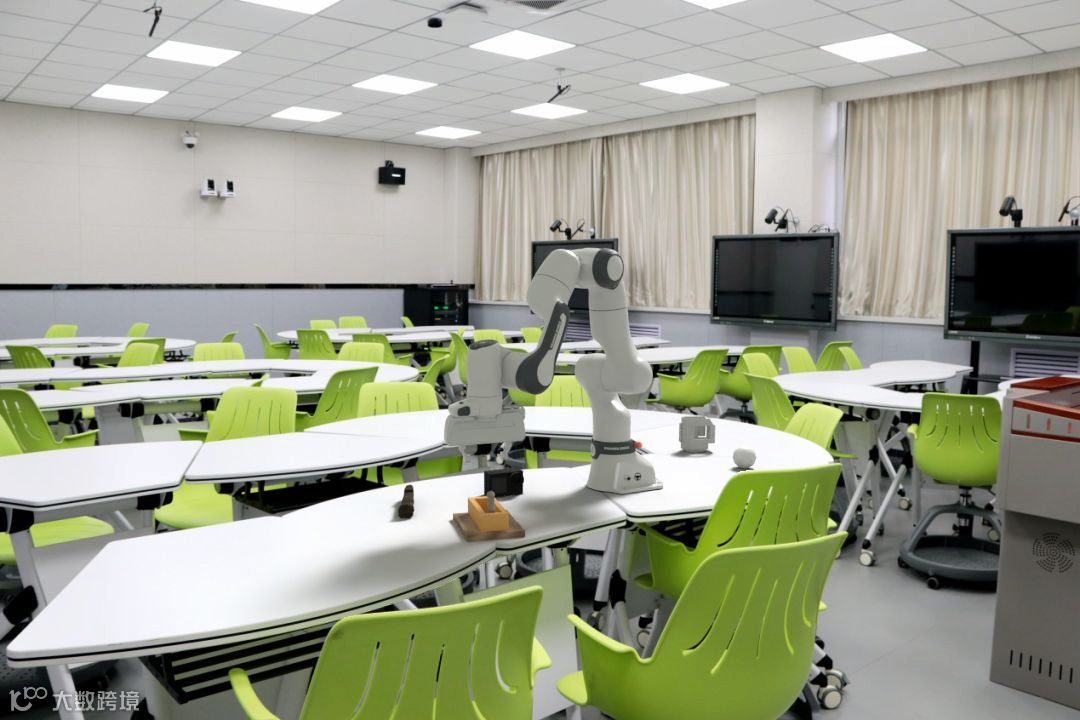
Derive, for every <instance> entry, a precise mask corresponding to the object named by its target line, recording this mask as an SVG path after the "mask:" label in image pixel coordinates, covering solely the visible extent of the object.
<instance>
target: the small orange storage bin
mask: <svg viewBox="0 0 1080 720" xmlns="http://www.w3.org/2000/svg"><path fill="white" fill-rule="evenodd" d="M496 498H497V497H496ZM496 498H495V507H494V513H487V496H486V495H484V496H473V497H467V512H468V514H469V515H470V517H471V518H472V519H473V521H474V522H475V523H476V525H477V526H478V528H479V529H480V530H481V532H489V531H500V530H509V513H510V512H509V511H508V510H507V509H506V508H505V507H504V506H503V505H502V503H500V502H499V501H498V500H497V499H496ZM506 510H507V511H508V512H509V513H508V512H507V511H506Z"/></svg>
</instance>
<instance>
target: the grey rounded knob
mask: <svg viewBox="0 0 1080 720" xmlns="http://www.w3.org/2000/svg"><path fill="white" fill-rule="evenodd" d="M732 454H733V455H732V459H733V463H734V465H736V466H737V467H739V468H741V469H749V468H752V466H754V464H755V462H756V459H757V456H756V452H755V450H754V449H753V448H752V447H751V446H747V445H740V446H738V447H736V448H735V450H734V451H733V453H732Z"/></svg>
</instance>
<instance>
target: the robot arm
mask: <svg viewBox="0 0 1080 720" xmlns="http://www.w3.org/2000/svg"><path fill="white" fill-rule="evenodd" d="M624 272H625V264H624V261H623V259H622V256H621V255H620V253H619V252H618V251H617V250H614V249H611V248H607V247H603V248H597V247H584V248H577V249H576V248H575V249H565V248H558V249H554V250H552V251H550V253H549V254H548V255H547V256H546V258H545V259H544V260H543V262H542V263H541V265H540V266H539V268H538V269H537V271H536V272H535V274H534V276H533V278H532V280H531V281H530V283H529V285H528V287H527V291H526V295H525V296H526V297H525V298H526V303H527V305H528V307H529V309H530V310H531V311H532V312H533V314H534V315H535V316H537V317H538V318H540V319H541V320H542V321H544V325H543V327H542V331H541V334H540V336H539V339H538V341H537V345H536V348H535V349H534V350H533V351H530V352H520V351H516V350H510V349H509V348H506V347H504V346H502V345H501V344H500V343H499V341H498V340H496V339H483V340H477V341H474V342H472V343H471V344H469V346H468V348H467V353H466V357H465V358H466V360H465V377H466V382H467V391H466V398H463V399H461V400H458V401H456V402H453V403H451V404H448V408H447V410H448V413H449V414H448V416H447V417H446V419H445V422H444V429H443V441H444V443H445V445H447V446H448V447H456V446H457V447H458V449H459V451H460V453H461V454H462V457H463V459H462V460H463V463H464V464H466V463H471V455H470V454H469V453H466V452H465V450H466V449H467V448H466V447H467V446H470V445H471V446H474V445H484V444H497V443H503V444H504V445H505V446H504V449H503V451H500V452H499V454H500V455H499V456H500V460H502V461H503V460H504V461H505V460H508V453H509V452H510V450H511V448H512V446H513V443H515V442H523V441H524V440H525V438H526V427H525V422H524V421H525V419H526V409H525V407H524V406H522V405H520V404H518V403H514V404H503V390H502V389H508V390H513V391H519V392H523V393H526V394H531V395H535V396H537V395H540V394H543V393H544V392H546V391H547V390H548V389H549V387H550V386H551V385H552V383H553V380H554V376H555V370H556V364H557V361H558V357H559V355H560V351H561V348H562V345H563V342H564V339H565V336H566V333H567V331H568V326H569V324H570V323H569V322H570V319H571V311H570V307H569V306H568V304H569V301H570V299H571V296H572V294H573V292H574V291H575V289H585V290H588V309H589V310H588V311H589V313H588V315H589V326H590V334H591V337H592V338H593V340H594V341H596V342H597V343H598V344H599V345H600V346H601V349H602V350H603V352H604V353H600V352H594V353H588V354H584V355H582V356H580V357H579V358H578V359H577V361H576V363H575V365H574V366H575V367H574V376H575V379H576V382H577V383H578V384H579V385H580V386H581V387H582V388H583V390H584V392H585V393H586V395H587V398H588V401H589V404H590V408H591V414H592V437H591V442H590V457H591V463H590V471H589V474H588V478H587V481H586V486H587V487H588V488H589V489H592V490H595V491H601V492H609V493H615V494H621V495H625V494H631V493H639V492H644V491H645V492H646V491H652V490H659V489H663V488H664V484H663V482H662V481H661V480H660V479H659V478H656V472H655V471H656V470H655V468H654V465H653V464H652V463H651V462H650V461H649V460H648V459H646V457H644V456H643V455H642V454H640V453H639V452H638V451H637V449H638V450H640V449H642V447H643V443H642V442H641V441H638V440H634V439H633V438H631V435H632V434H631V431H632V430H631V427H632V426H631V425H632V422H631V421H632V415H631V411H630V410H629V409H628V408H627V407H626V406H625V405H624V404H623V403H622V401H621V399H620V396H619V394H622V395H637V394H643V393H645V392H647V391H648V390H649V388H650V387H651V384H652V382H653V377H654V376H653V369H652V366H651V365H650V363H649V362H648V361H647V360H646V359H645V358H643V357H642V355H641V354H640V352H639V351H638V349H637V347H636V346H635V343H634V340H633V338H632V334H631V330H630V329H631V328H630V320H629V309H628V298H627V297H628V296H627V292H626V287H625V282H624V278H623V276H624Z"/></svg>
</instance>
